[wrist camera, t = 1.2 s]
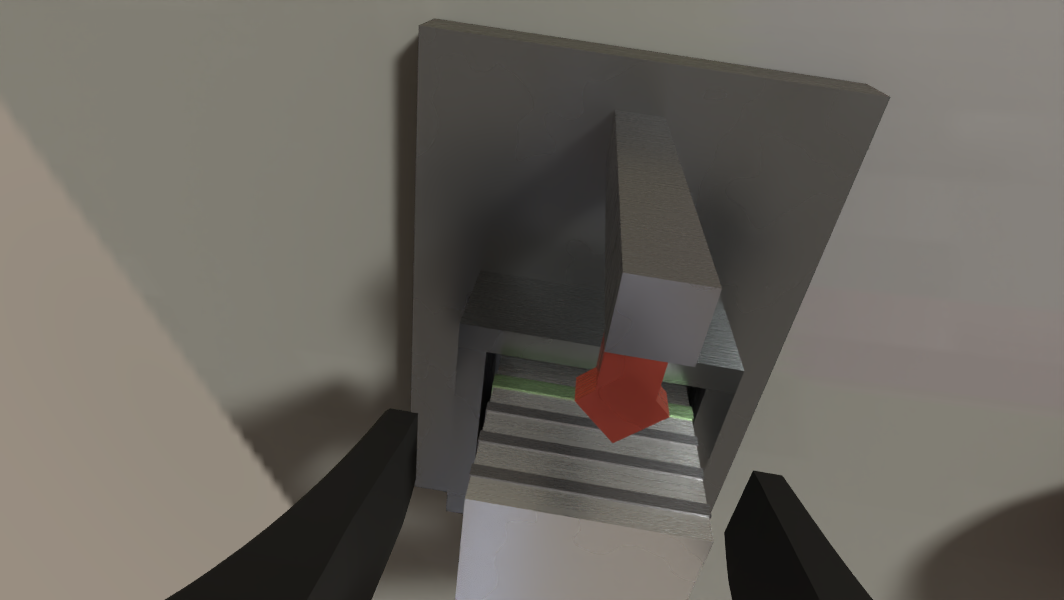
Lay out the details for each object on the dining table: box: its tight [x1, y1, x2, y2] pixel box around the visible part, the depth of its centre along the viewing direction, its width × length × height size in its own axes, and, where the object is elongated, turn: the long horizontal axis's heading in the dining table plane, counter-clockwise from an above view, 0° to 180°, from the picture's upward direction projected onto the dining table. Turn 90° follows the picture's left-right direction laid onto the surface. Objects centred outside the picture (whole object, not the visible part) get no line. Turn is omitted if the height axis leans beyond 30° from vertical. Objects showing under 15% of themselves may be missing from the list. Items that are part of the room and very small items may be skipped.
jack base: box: [411, 19, 890, 514], centre depth 12 cm, size 13×9×8 cm
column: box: [455, 355, 713, 600], centre depth 13 cm, size 4×4×6 cm
